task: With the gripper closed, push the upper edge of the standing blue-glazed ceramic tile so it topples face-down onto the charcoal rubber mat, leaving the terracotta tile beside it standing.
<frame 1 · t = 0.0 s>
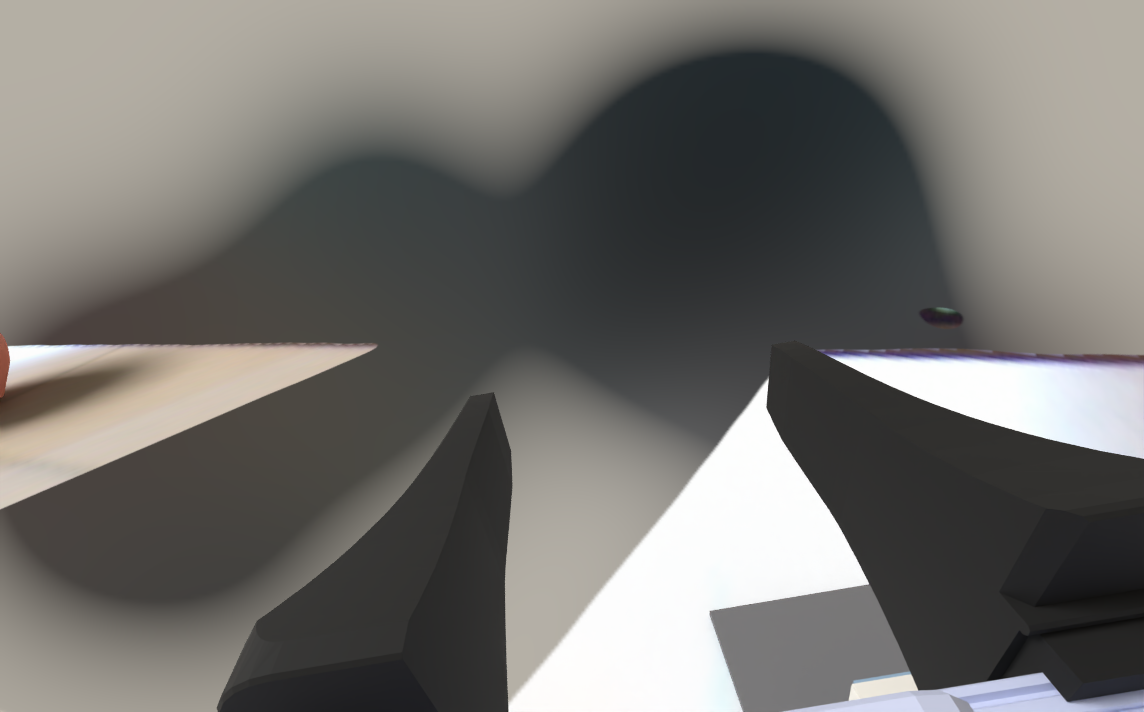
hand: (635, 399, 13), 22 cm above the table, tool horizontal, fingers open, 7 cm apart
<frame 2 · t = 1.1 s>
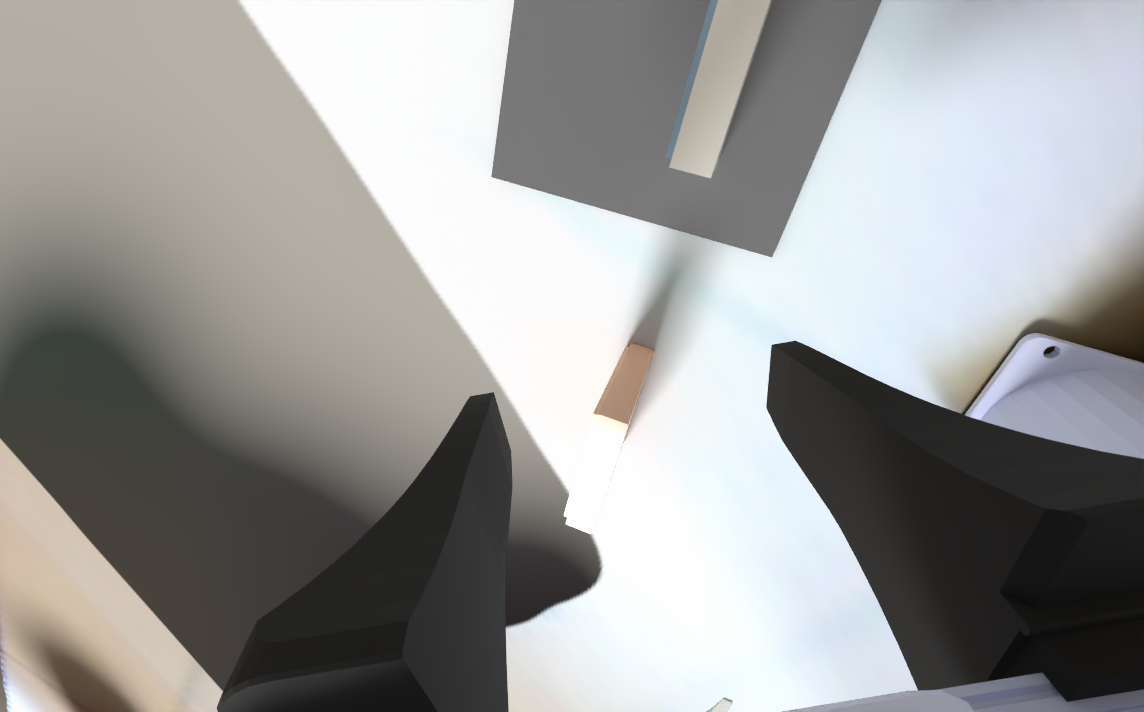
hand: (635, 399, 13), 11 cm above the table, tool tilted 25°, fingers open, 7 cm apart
mat: (667, 61, 19), on the table
terracotta tile: (627, 395, 26), on the table
glazed tile: (730, 75, 18), resting on mat
corner molding: (501, 706, 43), on the table
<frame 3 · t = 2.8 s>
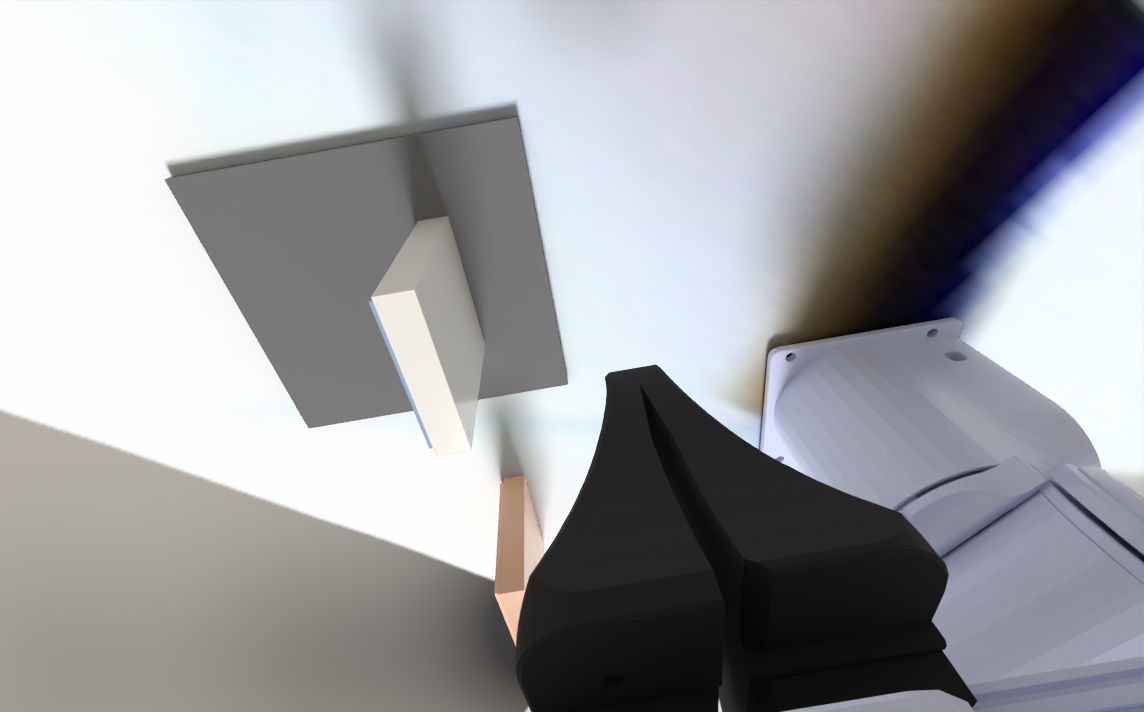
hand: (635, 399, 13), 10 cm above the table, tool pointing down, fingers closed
mat: (398, 293, 21), on the table
terracotta tile: (524, 511, 29), on the table
glazed tile: (454, 287, 21), resting on mat
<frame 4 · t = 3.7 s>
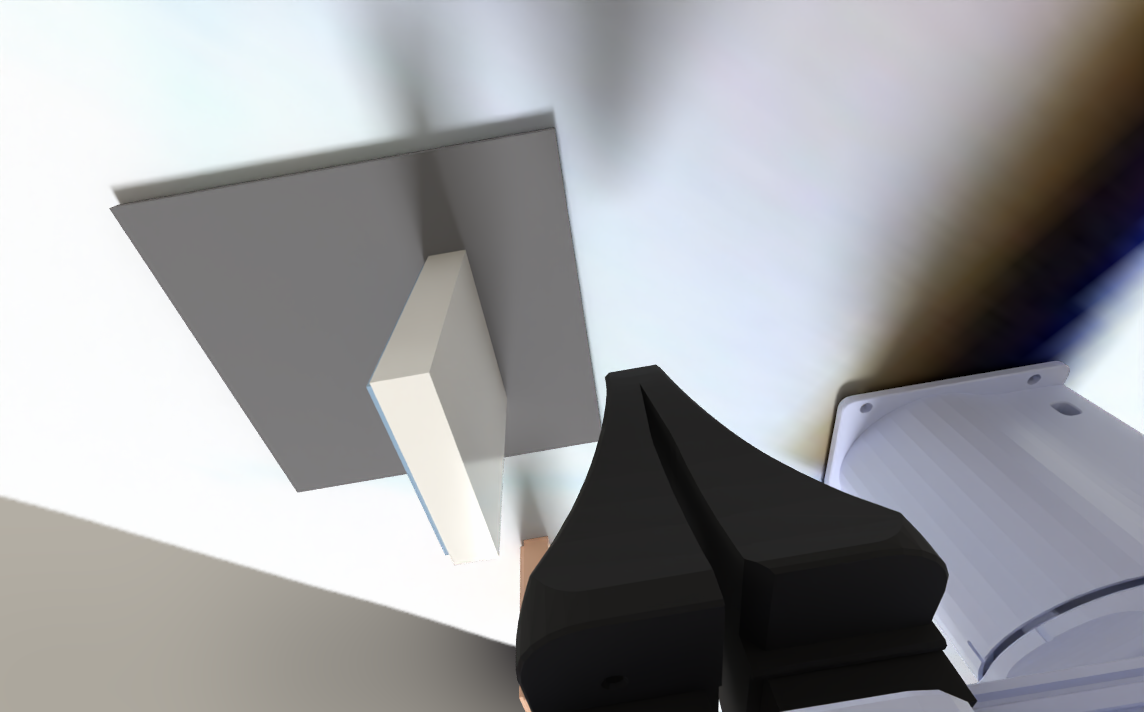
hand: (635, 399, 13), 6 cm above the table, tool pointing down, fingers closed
mat: (403, 339, 18), on the table
terracotta tile: (546, 574, 26), on the table
glazed tile: (471, 333, 17), resting on mat
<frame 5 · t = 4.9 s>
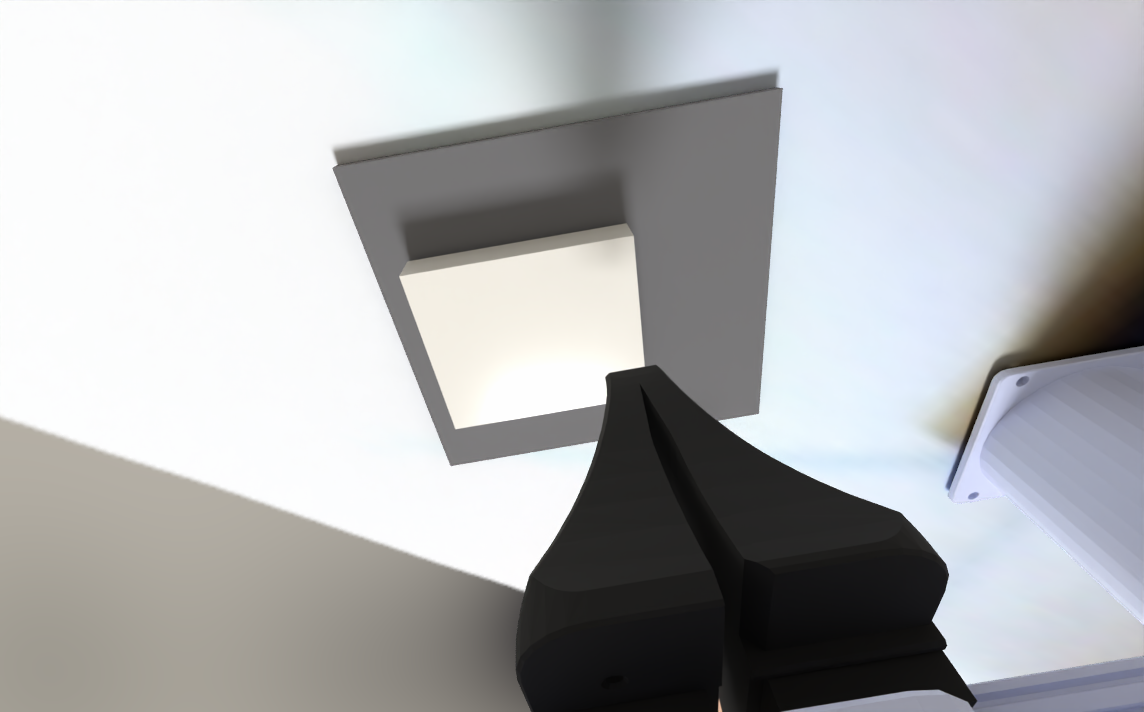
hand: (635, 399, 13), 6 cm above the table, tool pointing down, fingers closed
mat: (583, 308, 17), on the table
glazed tile: (637, 315, 16), point 1 cm above the table, tilted 90°, touching mat
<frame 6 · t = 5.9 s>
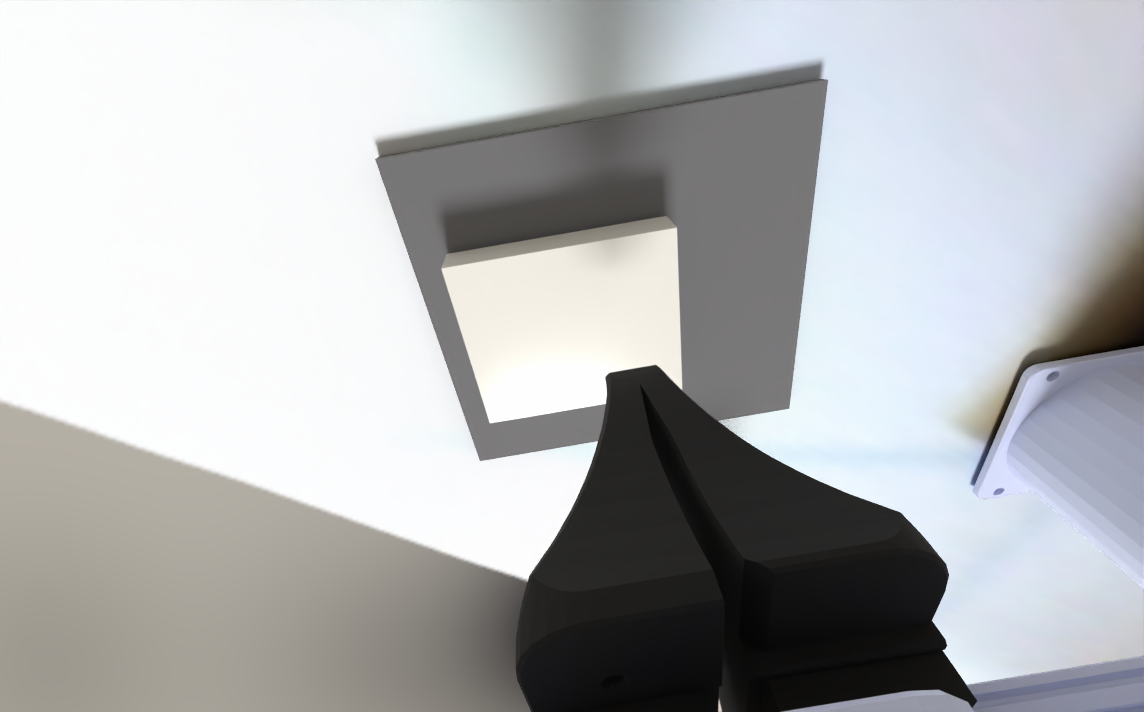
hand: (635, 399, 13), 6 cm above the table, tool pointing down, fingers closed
mat: (618, 302, 17), on the table
glazed tile: (675, 309, 16), point 1 cm above the table, tilted 90°, touching mat
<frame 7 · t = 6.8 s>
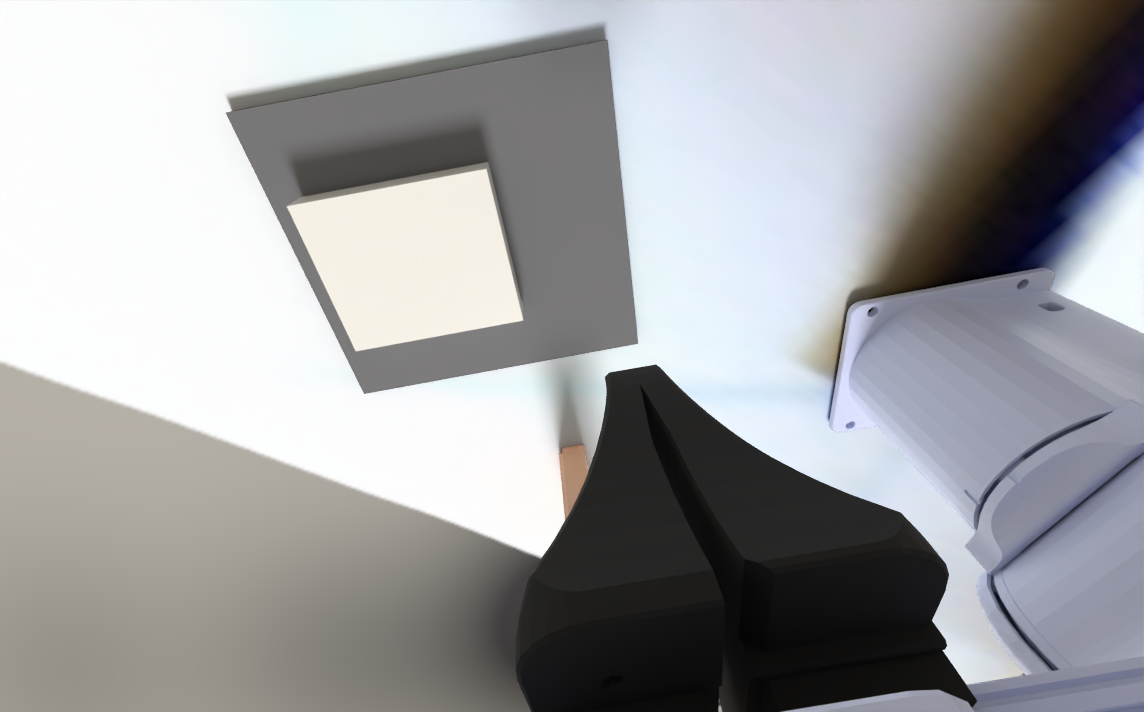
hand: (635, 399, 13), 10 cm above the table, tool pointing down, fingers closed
mat: (466, 243, 20), on the table
terracotta tile: (580, 484, 28), on the table
glazed tile: (506, 245, 19), point 1 cm above the table, tilted 90°, touching mat
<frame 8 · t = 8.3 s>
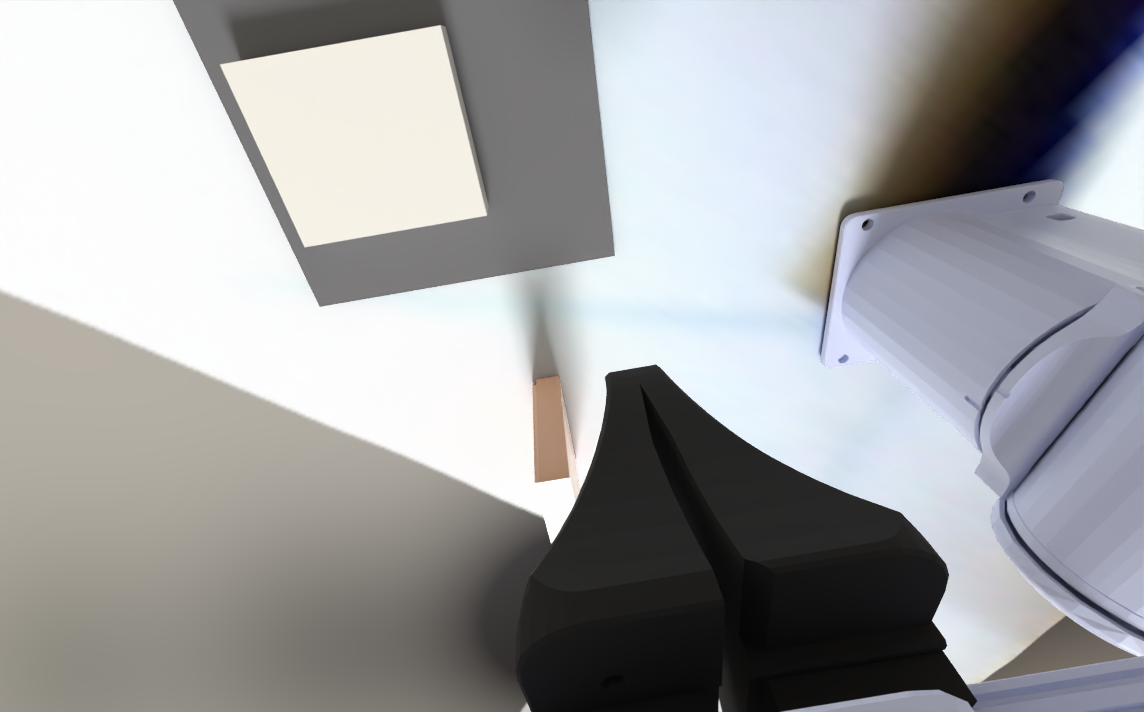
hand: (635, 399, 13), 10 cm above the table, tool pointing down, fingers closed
mat: (425, 130, 18), on the table
terracotta tile: (557, 422, 26), on the table
glazed tile: (467, 127, 17), point 1 cm above the table, tilted 90°, touching mat
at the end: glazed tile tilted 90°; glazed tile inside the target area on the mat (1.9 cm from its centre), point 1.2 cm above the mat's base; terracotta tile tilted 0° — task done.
